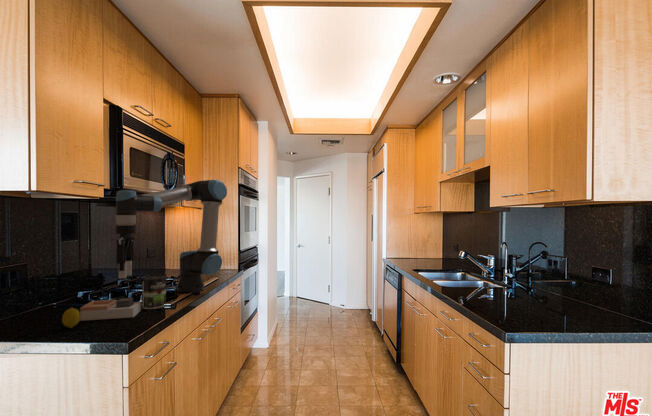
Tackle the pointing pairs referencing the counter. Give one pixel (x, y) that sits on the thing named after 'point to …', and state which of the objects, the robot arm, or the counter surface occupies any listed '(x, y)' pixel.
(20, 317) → the counter surface
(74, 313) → the lemon
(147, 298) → the coffee can
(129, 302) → the breaker button
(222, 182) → the robot arm
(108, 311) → the box
